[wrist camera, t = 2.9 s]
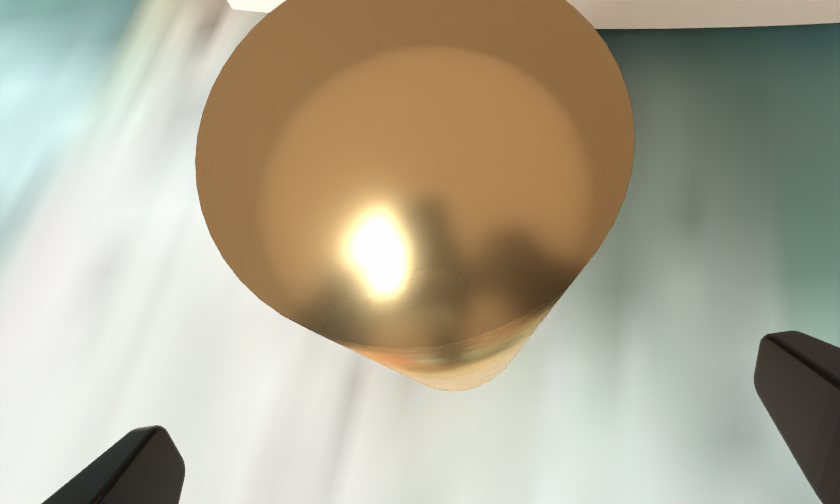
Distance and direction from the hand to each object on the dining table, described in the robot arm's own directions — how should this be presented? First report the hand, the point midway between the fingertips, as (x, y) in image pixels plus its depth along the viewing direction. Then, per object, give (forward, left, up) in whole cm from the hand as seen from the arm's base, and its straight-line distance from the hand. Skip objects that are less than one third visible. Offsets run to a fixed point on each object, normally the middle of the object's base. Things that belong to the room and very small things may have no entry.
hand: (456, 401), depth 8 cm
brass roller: (+3, +2, -10) cm, 11 cm away
